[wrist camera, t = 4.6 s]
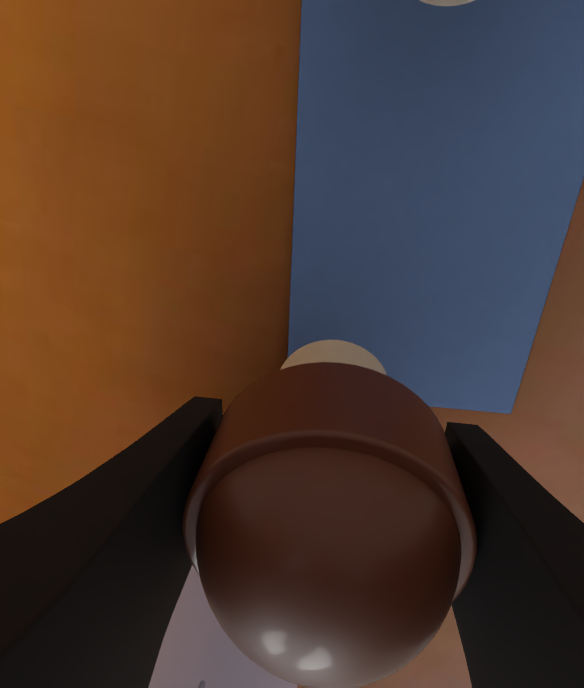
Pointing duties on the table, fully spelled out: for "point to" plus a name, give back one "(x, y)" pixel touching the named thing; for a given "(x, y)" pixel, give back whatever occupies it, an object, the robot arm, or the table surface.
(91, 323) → the table surface
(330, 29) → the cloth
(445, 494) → the brown mushroom
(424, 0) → the cream mushroom
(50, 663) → the robot arm
